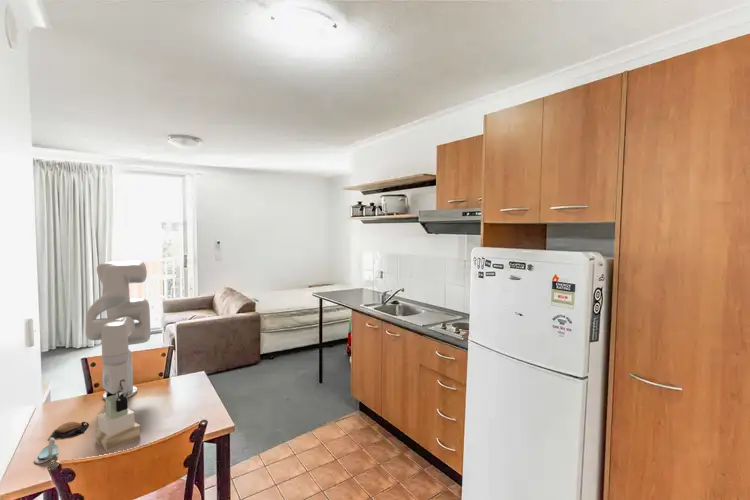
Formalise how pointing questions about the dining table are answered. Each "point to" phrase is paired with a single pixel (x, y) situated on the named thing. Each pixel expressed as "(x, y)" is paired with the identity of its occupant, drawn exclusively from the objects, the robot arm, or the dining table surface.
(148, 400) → the dining table surface
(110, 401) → the sage block
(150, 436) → the dining table surface
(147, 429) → the dining table surface
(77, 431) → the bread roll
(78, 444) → the dining table surface
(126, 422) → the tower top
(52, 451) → the pacifier
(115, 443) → the tower base
